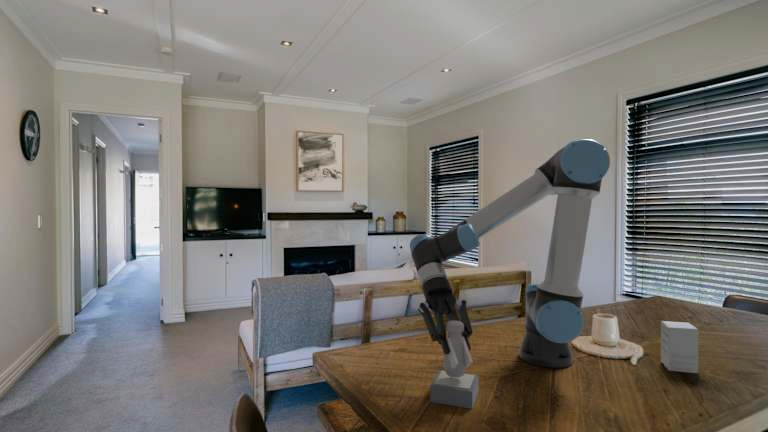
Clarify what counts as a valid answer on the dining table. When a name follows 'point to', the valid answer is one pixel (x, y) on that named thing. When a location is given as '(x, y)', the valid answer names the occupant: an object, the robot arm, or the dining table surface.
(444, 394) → the slate plinth
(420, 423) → the dining table surface
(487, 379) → the dining table surface
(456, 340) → the salt shaker
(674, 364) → the supplement box
